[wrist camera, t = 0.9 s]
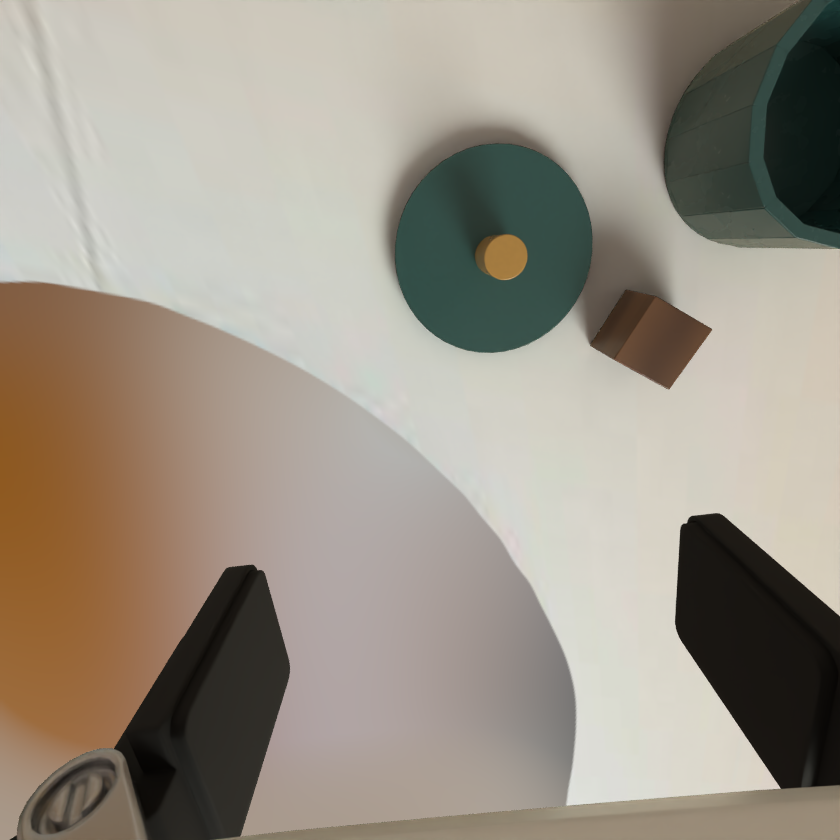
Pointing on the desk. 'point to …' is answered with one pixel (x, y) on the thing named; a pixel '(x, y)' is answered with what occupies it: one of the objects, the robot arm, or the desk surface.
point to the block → (650, 337)
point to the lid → (493, 248)
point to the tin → (764, 136)
